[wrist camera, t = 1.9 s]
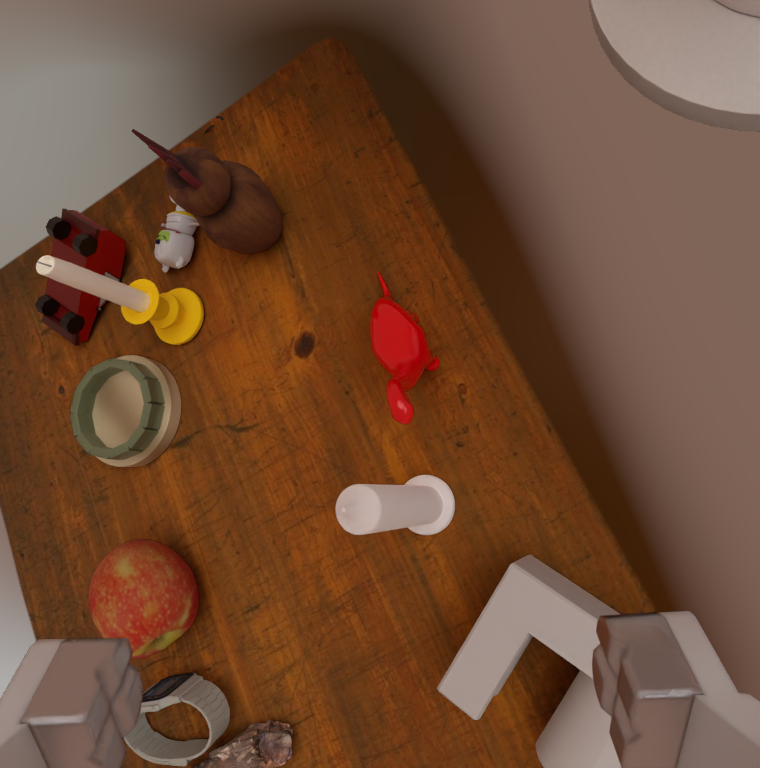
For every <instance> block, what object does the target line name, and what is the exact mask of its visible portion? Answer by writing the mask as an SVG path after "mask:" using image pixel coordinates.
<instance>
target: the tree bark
mask: <svg viewBox="0 0 760 768" xmlns="http://www.w3.org/2000/svg"><path fill="white" fill-rule="evenodd" d="M292 731H293V729H291V728H290V725H289V724H286V723H284V724H283V723H281V722H279V721H276V722H273V720H272V719H271V720H269V721H268V722H266V724H264V723H254V724H251V725H250V726H249V727H248V728H247V729H246V730H244V731H243V732H241V733H240V734H239V735H238V736H236V737H235V738H233V739H232V740H230V741H229V742H227V743H226V744H224V745H223V746H221V747H218V748H216V749H213V750H211V751H210V753H209V759H207V760H205V761H203V762H202V763H199V764H198V765H196V766H194V767H193V768H276V767H279V766H282V765H283V764H285V762H286V760H288V759H290V758H291V754H292V748H291V743H292V741H291V738H290V737H291V736H292V734H293V732H292Z"/></svg>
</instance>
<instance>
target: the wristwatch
mask: <svg viewBox="0 0 760 768" xmlns="http://www.w3.org/2000/svg"><path fill="white" fill-rule="evenodd" d="M181 701H182V702H185V703H189V704H190V705H192V706H195V707H196V708H197V709H198V710H199V711H200V712H201V713H202V715H203V716H204V717H205V719H206V721H207V723H208V727H209V730H210V733H209V736H210V737H209V739H206V740H205V739H196V740H188V741H175V740H170V739H168V738H165V737H164V736H162V735H160V734H159V733H158V732H154V731H153V730H152V729H151V727H150V725H149V724H148V722H147V719H146V716H145V712H155V711H159V710H160V709H162V708H164V707H167V706H169V705H172V704H175V703H179V702H181ZM229 712H230V710H229V706H228V702H227V699H226V698H225V696H224V694H223V692H221V690H220V689H219V688H218V687H217V686H216V685H215V684H213V683H212V682H210V681H207V680H203V677H202V676H198V675H196V673H186V674H180V675H174V676H169V677H167V678H164V679H162V680H160V681H158V682H157V683H155V684H154V685H152V686H151V687H150V688H148V689H147V690H146V691H144V692H143V697H142V704H141V711H140V714H139V718H138V721H137V724H136V727H135V728H134V729H133V730H132V731H131V732H130V733H129V734H128V735H127V736H126V737H125V738H124V739H125V741H126V743H127V744H128V745H129V746H130V748H131V749H132V750H133V751H135V753H136V754H138V755H139V756H141V757H142V758H144V759H146V760H148V761H150V762H153V763H158V764H164V765H169V764H170V765H172V766H186V765H187V764H188V763H189V762H190V761H191V760H192V759H194V758H197V757H198V756H200V755H202V754H203V753H204V752H205V751H206V750H207V749H208V748H209V747H210V746H211V745H212V744H213V743H214V742H215V741H216V740H217V739H218V738H219V737H220V736H221V735H222V734H223V733H224V731H225V730H226V728H227V726H228V724H229V718H230V713H229Z"/></svg>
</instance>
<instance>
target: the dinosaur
mask: <svg viewBox="0 0 760 768" xmlns="http://www.w3.org/2000/svg"><path fill="white" fill-rule="evenodd" d="M377 274H378V277H379V280H380V283H381V286H382V289H383V294H384V297H380V298H379V299H378V300H377V301H376V302H375V304H374V306H373V309H372V313H371V321H370V336H371V345H372V350H373V353H374V356H375V357H376V359H377V360H378V362H379V363H380V364H381V366H382V367H383V368H384V369H385V370H386V371H387V372H388V374H389V375H390V376H392V378H391V379H390V380H389V381H388V383H387V387H386V392H387V399H388V404H389V407H390V411H391V415H392V417H393V419H394V420H395V421H397V422H399V423H402V424H410V422H411V421H412V418H413V413H414V408H413V405H412V404H411V403H410V401H409V399H408V397H407V395H406V393H405V392H407V391H410V390H411V389H413V388H414V386H415V385H416V383H417V382H418V380H419V379H420V377H421V375H422V373H423V371H424V369H425V368H426V369H427V370H429V371H433V370H435V369H437V368H438V366H439V363H440V362H439V359H438V358H437V357H436V356H433V354H432V352H431V351H430V349H429V348H428V345H427V341H426V335H425V332H424V331H423V329H422V328H421V327H420V326H419V325H418V324H417V323H418V317H417V315H416V314H414V313H412V312H410V311H408V310H405V309H404V308H403V307H402V306H400V305H399V304H397V303H395V302H393V298H392V296H391V293H390V291H389V289H388V287H387V285H386V284H385V282H384V280H383V278H382V277H381V275H380V273H379V272H377Z"/></svg>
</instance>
